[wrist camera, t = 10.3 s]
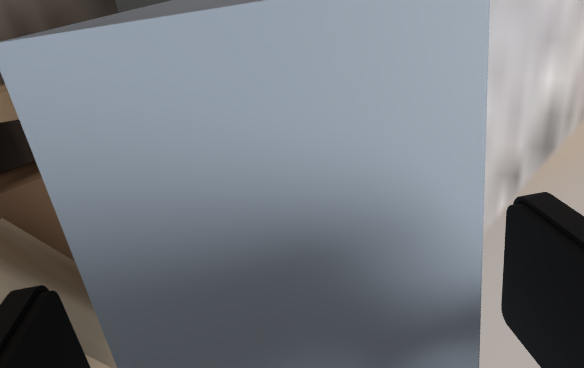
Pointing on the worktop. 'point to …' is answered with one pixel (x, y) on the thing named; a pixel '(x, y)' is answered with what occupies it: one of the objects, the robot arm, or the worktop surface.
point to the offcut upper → (52, 286)
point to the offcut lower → (31, 206)
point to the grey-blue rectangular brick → (268, 177)
